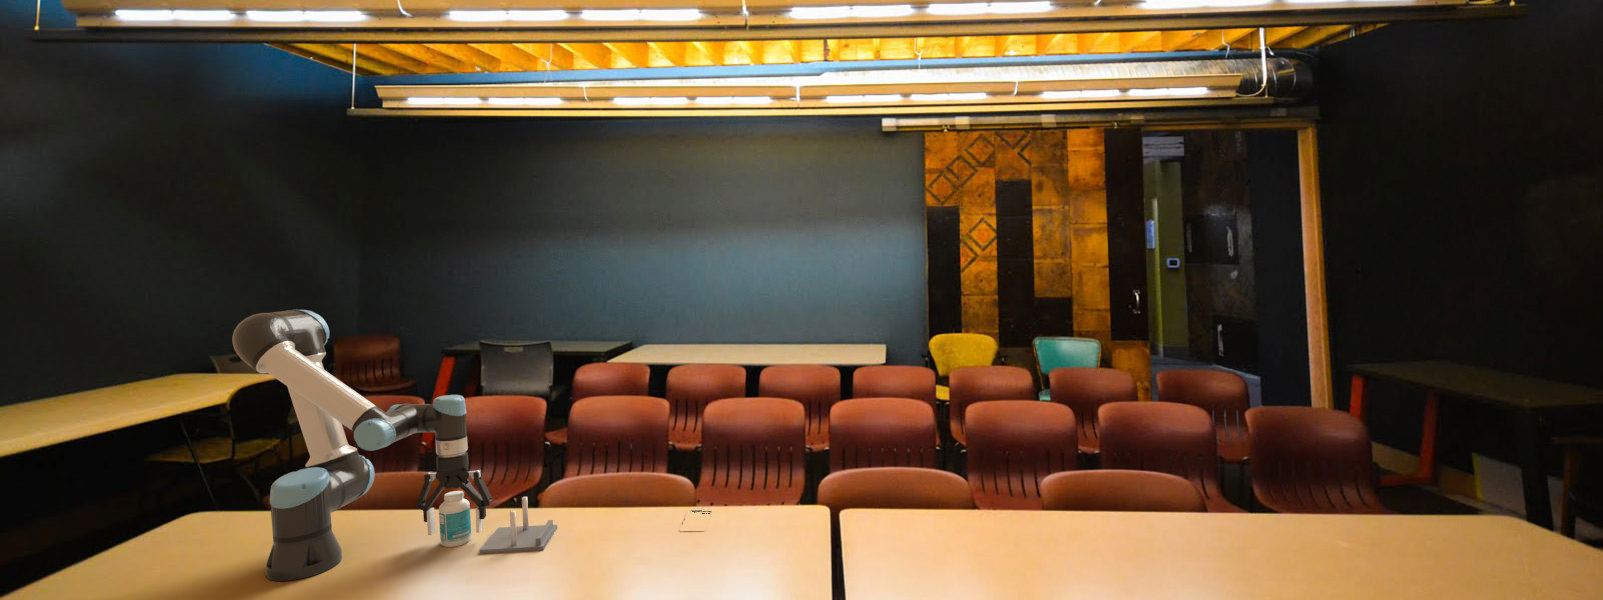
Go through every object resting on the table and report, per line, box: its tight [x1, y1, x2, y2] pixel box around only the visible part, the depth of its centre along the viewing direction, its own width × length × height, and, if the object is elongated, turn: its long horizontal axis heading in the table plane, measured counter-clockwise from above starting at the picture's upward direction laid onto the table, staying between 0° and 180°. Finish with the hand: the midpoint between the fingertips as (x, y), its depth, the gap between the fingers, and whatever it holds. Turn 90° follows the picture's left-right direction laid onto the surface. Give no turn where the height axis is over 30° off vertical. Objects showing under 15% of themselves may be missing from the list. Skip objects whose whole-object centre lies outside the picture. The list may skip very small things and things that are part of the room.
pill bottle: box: [438, 490, 472, 548], centre depth 175 cm, size 8×7×14 cm
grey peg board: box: [479, 496, 558, 554], centre depth 176 cm, size 16×14×10 cm
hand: (455, 531), depth 175 cm, fingers open, 12 cm apart
